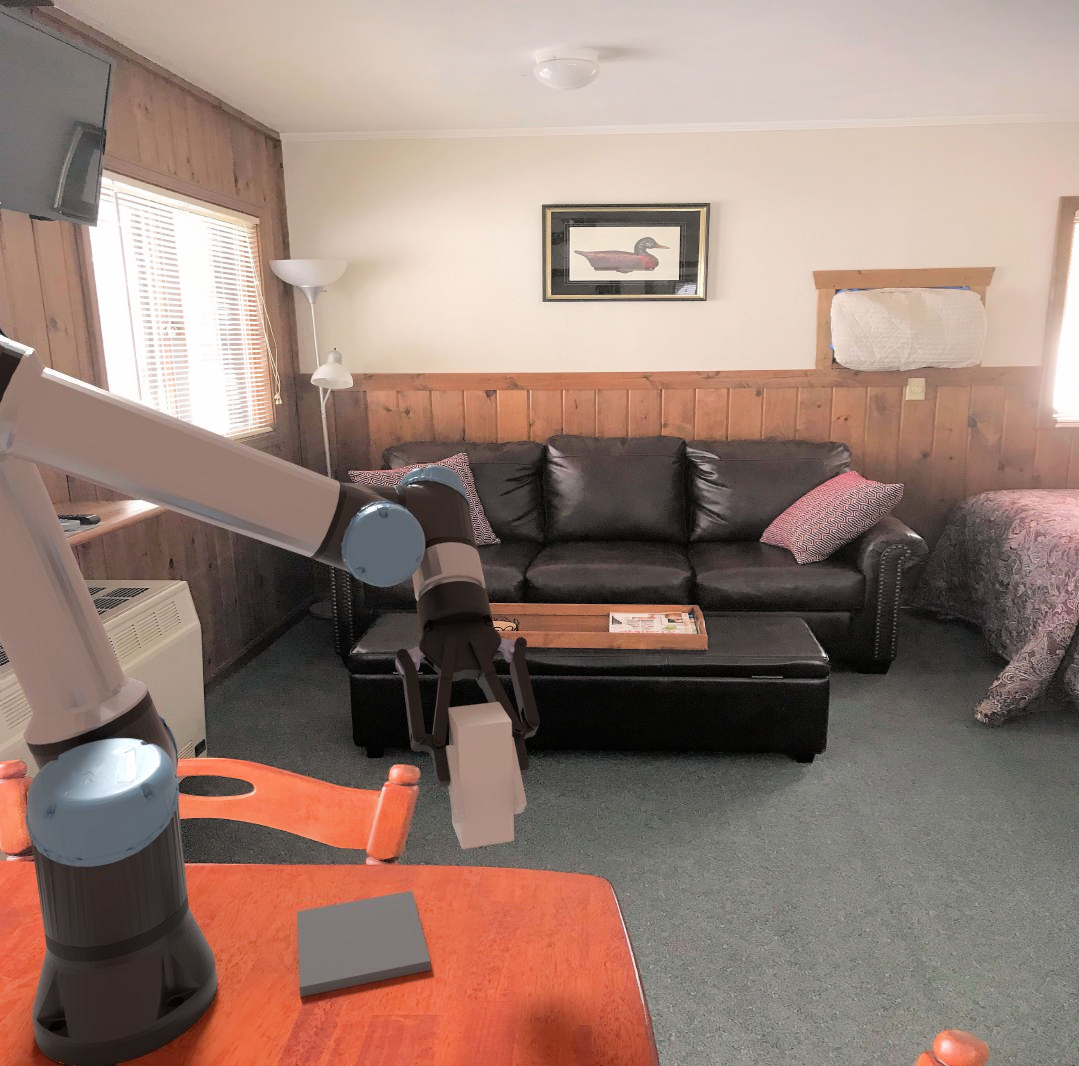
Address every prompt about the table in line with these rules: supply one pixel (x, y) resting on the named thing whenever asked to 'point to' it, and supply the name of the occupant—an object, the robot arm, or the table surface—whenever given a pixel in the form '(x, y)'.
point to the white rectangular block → (483, 773)
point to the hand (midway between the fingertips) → (490, 813)
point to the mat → (360, 943)
